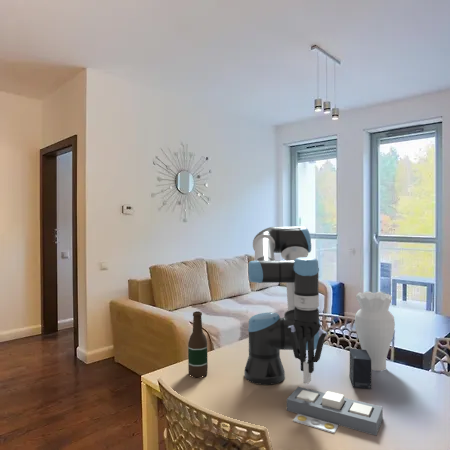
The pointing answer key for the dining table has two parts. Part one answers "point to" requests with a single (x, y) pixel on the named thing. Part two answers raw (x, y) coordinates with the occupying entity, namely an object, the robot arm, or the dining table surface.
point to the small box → (360, 368)
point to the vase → (375, 326)
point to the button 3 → (361, 409)
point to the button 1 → (308, 396)
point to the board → (336, 412)
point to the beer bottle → (197, 348)
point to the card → (316, 423)
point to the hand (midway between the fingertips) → (307, 381)
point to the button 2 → (333, 400)
